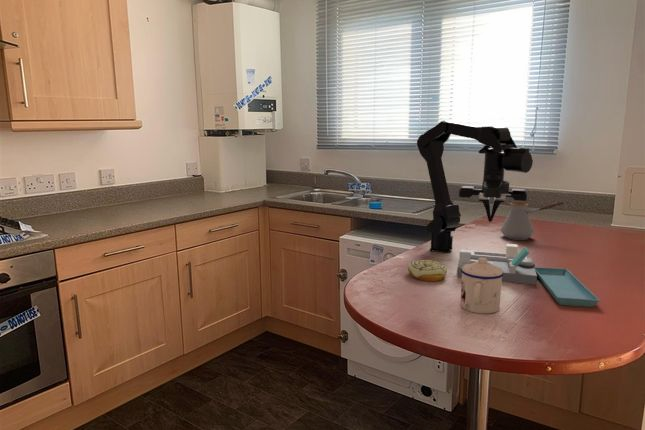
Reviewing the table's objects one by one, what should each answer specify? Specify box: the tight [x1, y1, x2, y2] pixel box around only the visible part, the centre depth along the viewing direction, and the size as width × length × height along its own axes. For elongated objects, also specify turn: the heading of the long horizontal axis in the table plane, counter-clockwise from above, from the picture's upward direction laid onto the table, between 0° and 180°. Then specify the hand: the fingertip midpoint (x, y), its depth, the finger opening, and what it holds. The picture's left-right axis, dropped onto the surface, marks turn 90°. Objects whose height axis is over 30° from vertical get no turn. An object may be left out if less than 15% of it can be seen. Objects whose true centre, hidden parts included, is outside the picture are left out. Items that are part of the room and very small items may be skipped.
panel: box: [456, 250, 538, 286], centre depth 136 cm, size 20×18×4 cm
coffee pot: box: [500, 201, 567, 241], centre depth 173 cm, size 21×12×15 cm, turn 57°
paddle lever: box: [509, 246, 530, 267], centre depth 129 cm, size 1×5×7 cm
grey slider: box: [458, 248, 472, 264], centre depth 133 cm, size 3×3×4 cm
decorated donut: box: [407, 259, 448, 282], centre depth 132 cm, size 10×11×4 cm
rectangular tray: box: [534, 266, 601, 308], centre depth 122 cm, size 26×9×2 cm, turn 168°
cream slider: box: [505, 243, 519, 258], centre depth 139 cm, size 3×3×4 cm
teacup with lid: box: [460, 257, 503, 315], centre depth 107 cm, size 12×9×12 cm
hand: (490, 221), depth 143 cm, fingers closed
